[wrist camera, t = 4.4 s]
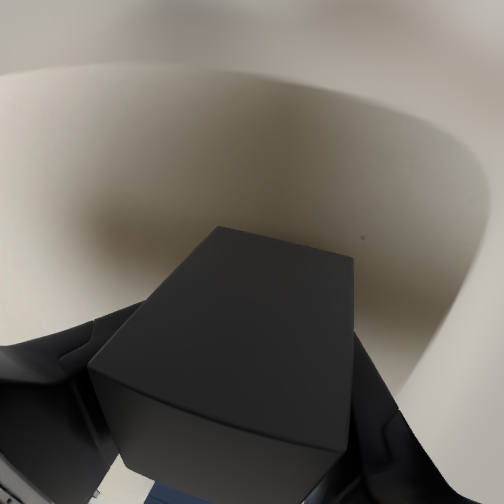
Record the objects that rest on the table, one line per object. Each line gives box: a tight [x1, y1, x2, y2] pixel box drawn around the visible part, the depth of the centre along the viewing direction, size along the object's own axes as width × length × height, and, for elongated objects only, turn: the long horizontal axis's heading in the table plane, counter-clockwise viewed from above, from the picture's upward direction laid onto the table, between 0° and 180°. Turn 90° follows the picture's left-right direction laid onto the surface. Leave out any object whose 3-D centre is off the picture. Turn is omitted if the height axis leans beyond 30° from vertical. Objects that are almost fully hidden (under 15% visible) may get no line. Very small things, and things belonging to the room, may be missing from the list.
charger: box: [87, 226, 354, 504], centre depth 7 cm, size 4×4×6 cm
